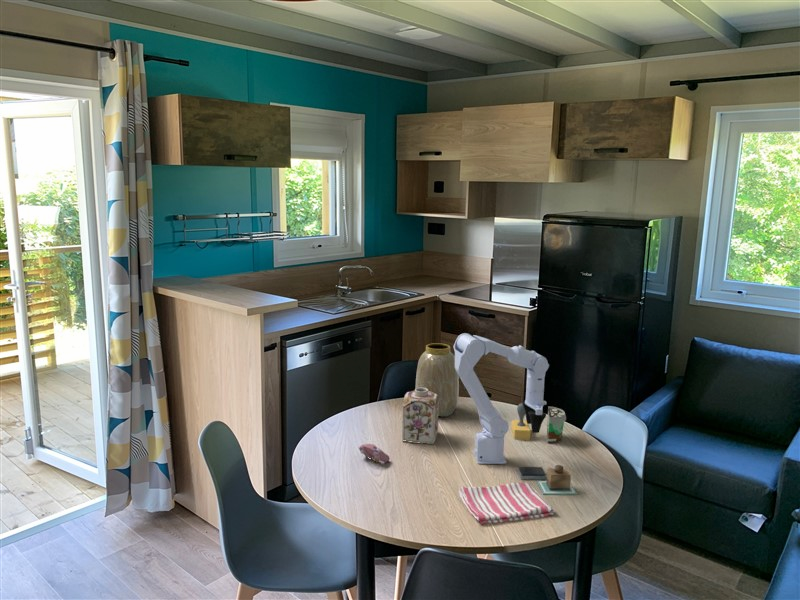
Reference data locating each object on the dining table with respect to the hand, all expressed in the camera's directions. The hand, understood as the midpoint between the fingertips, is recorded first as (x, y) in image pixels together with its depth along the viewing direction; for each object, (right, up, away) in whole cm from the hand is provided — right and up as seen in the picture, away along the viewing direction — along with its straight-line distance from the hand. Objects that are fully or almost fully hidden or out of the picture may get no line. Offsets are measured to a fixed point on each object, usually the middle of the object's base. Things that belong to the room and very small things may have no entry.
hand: (532, 427), depth 206 cm
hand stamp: (+3, -13, -22) cm, 26 cm away
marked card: (+2, -14, -22) cm, 26 cm away
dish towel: (-15, -16, -32) cm, 38 cm away
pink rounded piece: (-53, -10, -4) cm, 54 cm away
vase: (-30, -2, +40) cm, 50 cm away
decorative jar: (-37, -7, +15) cm, 41 cm away
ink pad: (-3, -12, -14) cm, 18 cm away
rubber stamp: (0, -7, +19) cm, 20 cm away
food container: (+12, -7, +15) cm, 20 cm away
